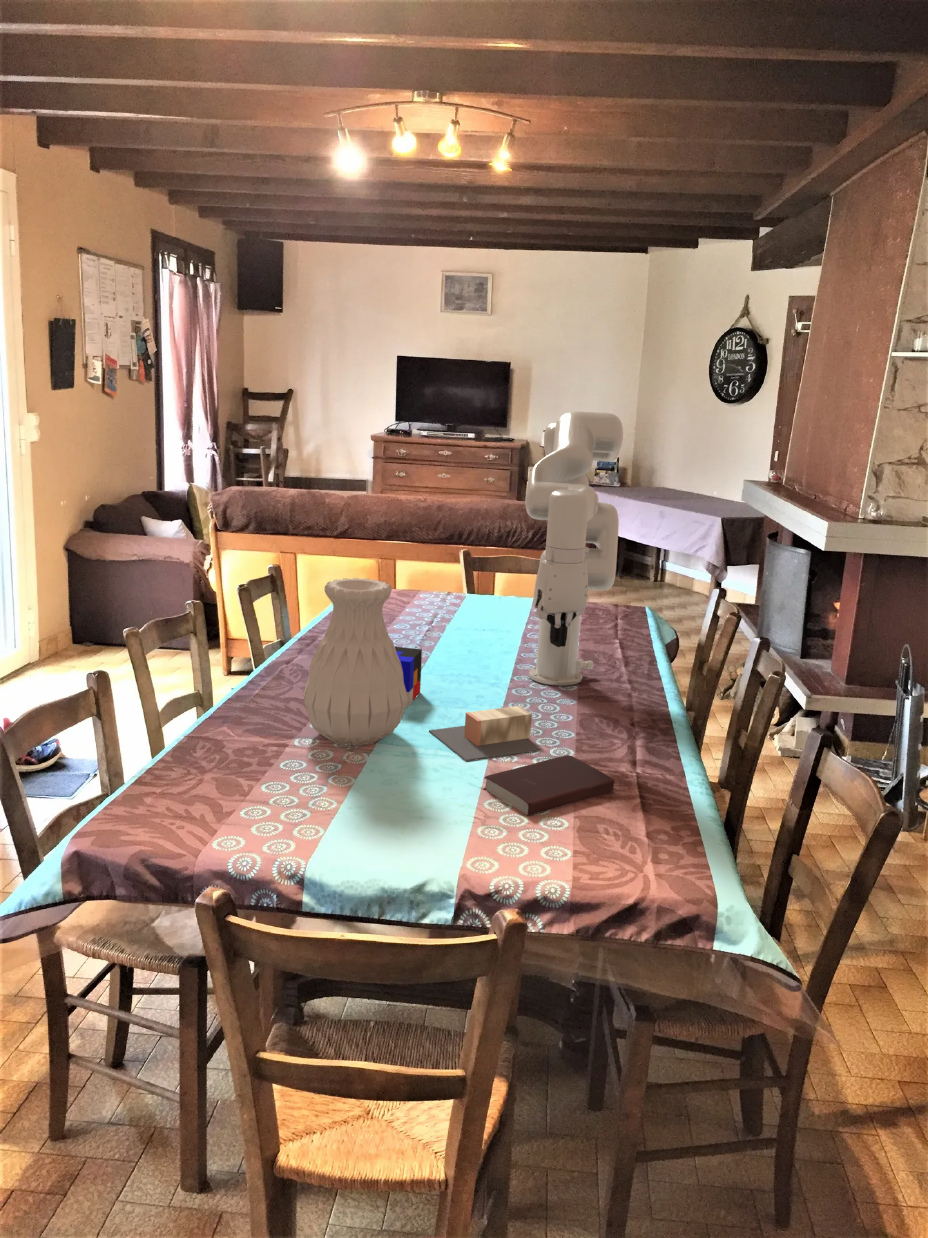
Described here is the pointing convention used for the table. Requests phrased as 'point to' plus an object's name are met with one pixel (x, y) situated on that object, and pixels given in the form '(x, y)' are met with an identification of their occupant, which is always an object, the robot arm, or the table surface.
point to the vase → (356, 668)
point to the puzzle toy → (410, 670)
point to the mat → (470, 751)
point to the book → (549, 784)
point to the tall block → (497, 725)
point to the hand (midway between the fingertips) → (557, 644)
